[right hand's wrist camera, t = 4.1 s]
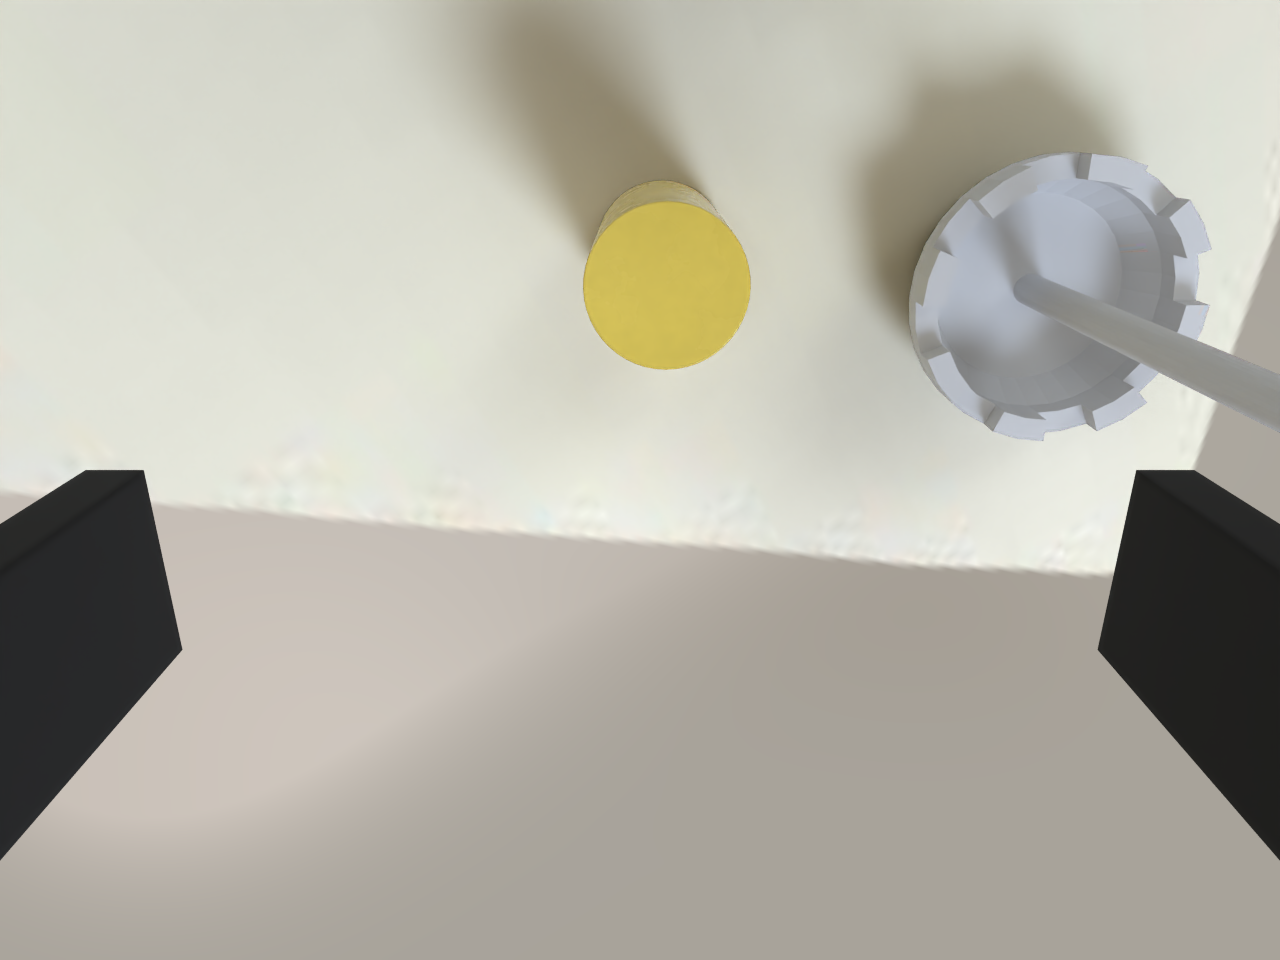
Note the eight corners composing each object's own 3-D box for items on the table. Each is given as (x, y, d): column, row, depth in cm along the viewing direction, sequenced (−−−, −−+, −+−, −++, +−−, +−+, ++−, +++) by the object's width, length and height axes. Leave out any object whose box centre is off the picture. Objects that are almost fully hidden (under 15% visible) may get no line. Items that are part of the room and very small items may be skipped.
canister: (697, 158, 44) (715, 172, 34) (744, 282, 46) (774, 332, 36) (576, 212, 45) (555, 242, 35) (627, 331, 47) (622, 393, 37)
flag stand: (1011, 92, 43) (1692, 54, 15) (1207, 248, 46) (2092, 459, 18) (840, 321, 47) (1128, 622, 19) (1029, 451, 50) (1520, 882, 22)
